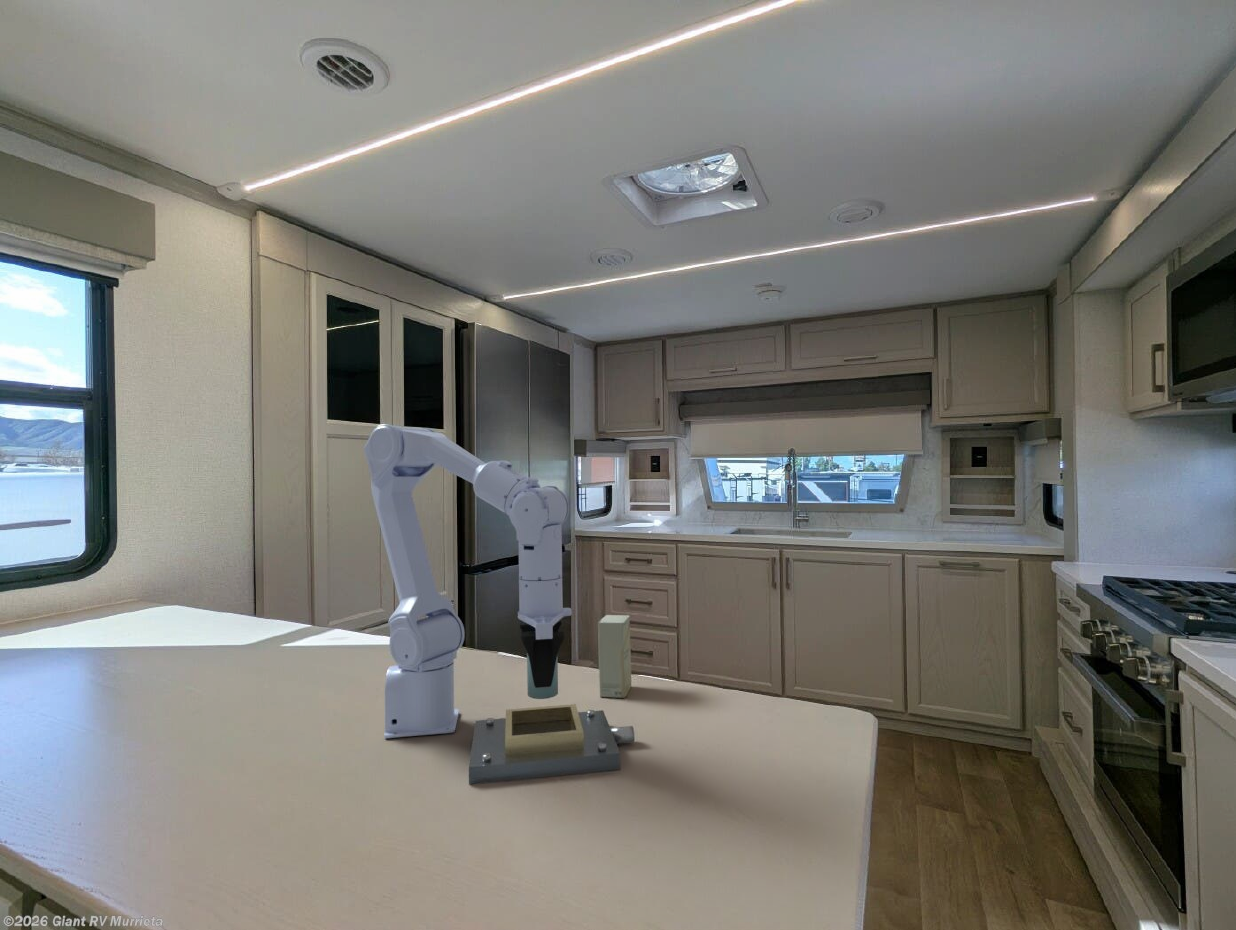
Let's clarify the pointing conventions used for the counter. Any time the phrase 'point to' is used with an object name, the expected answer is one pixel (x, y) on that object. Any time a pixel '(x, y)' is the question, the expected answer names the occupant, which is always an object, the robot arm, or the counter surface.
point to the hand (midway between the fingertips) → (542, 680)
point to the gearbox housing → (544, 744)
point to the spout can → (542, 691)
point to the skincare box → (614, 656)
